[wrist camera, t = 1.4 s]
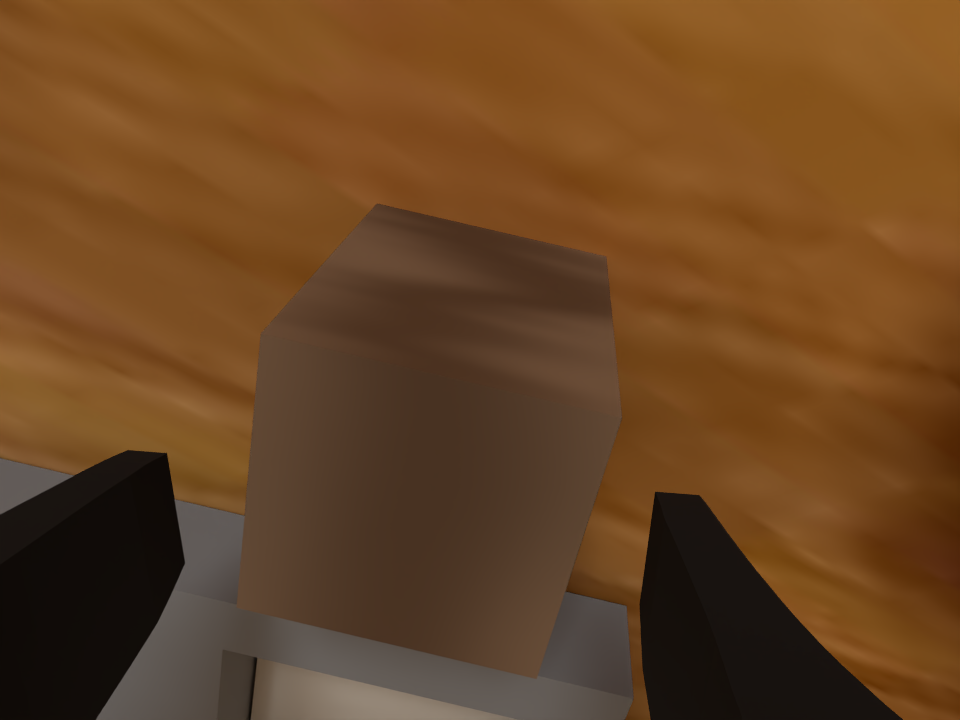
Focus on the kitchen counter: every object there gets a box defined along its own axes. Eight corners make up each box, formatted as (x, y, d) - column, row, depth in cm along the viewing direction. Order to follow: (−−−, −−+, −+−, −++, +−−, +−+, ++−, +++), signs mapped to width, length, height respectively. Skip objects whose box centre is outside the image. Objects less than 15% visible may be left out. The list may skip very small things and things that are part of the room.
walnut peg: (606, 256, 17) (621, 417, 11) (550, 451, 19) (536, 679, 13) (377, 203, 17) (261, 333, 11) (347, 403, 19) (236, 608, 13)
